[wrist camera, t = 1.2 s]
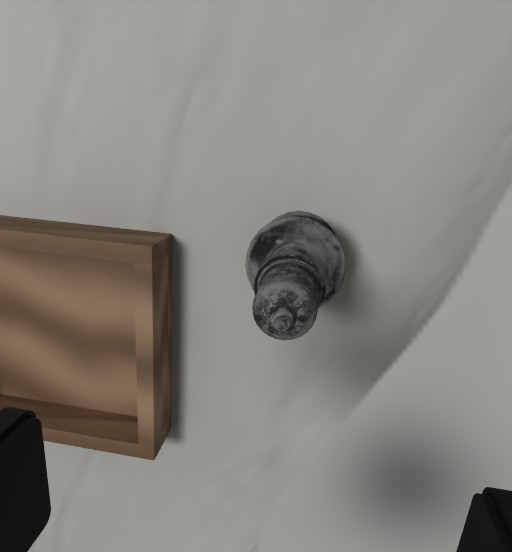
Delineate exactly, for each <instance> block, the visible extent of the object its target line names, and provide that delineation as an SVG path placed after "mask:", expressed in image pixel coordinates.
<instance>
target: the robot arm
mask: <svg viewBox="0 0 512 552" xmlns="http://www.w3.org/2000/svg"><path fill="white" fill-rule="evenodd" d="M50 512H51V505H50V496H49V487H48V478H47V469H46V460H45V452H44V443H43V434H42V425H41V421H40V420H39V419H37V418H36V414H35V413H34V412H33V411H31V410H25V409H19V408H13V407H5V408H3V409H2V410H0V552H27V551H28V550H29V549H30V547H31V546H32V544H33V543H34V542H35V540H36V539H37V537H38V536H39V535H40V533H41V532H42V530H43V529H44V528H45V526H46V524H47V522H48V520H49V517H50ZM457 552H512V491H508V490H502V489H496V488H490V487H486V488H485V489H484V490H483V492H482V494H478V493H476V494H475V495H474V496H473V499H472V502H471V506H470V509H469V512H468V515H467V519H466V522H465V525H464V529H463V532H462V535H461V539H460V542H459V545H458V549H457Z"/></svg>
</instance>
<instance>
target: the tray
mask: <svg viewBox="0 0 512 552" xmlns="http://www.w3.org/2000/svg"><path fill="white" fill-rule="evenodd" d="M5 407H13V408H19V409H25V410H31V411H33V412H34V413H35V414H36V418H37V419H39V420H40V421H41V425H42V434H43V440H44V441H49V442H55V443H60V444H66V445H71V446H77V447H83V448H88V449H94V450H99V451H105V452H110V453H116V454H122V455H127V456H133V457H138V458H144V459H149V460H155V458H156V456H157V454H158V452H159V450H160V448H161V446H162V445H163V443H164V441H165V439H166V437H167V435H168V433H169V431H170V428H171V234H166V233H157V232H148V231H139V230H130V229H120V228H111V227H102V226H93V225H84V224H75V223H65V222H56V221H47V220H38V219H29V218H20V217H10V216H1V215H0V410H2V409H3V408H5Z"/></svg>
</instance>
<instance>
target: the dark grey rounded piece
mask: <svg viewBox="0 0 512 552" xmlns="http://www.w3.org/2000/svg"><path fill="white" fill-rule="evenodd" d="M345 269H346V265H345V255H344V252H343V249H342V247H341V244H340V242H339V240H338V239H337V238H336V236H335V233H334V231H333V230H332V228H331V227H330V226H329V224H328V223H327V222H325V221H324V220H323V219H321V218H320V217H319V216H316V215H314V214H311V213H309V212H301V211H296V212H288V213H286V214H283V215H281V216H278V217H277V218H276V219H274V220H273V221H272V222H270V223H269V224H267V225H266V226H265V227H263V228H262V229H261V230H260V231H259V232H258V233H257V234H256V236H255V237H254V238H253V240H252V241H251V243H250V246H249V248H248V251H247V255H246V271H247V277H248V279H249V282H250V284H251V286H252V288H253V290H254V292H255V298H254V301H253V308H252V309H253V315H254V319H255V322H256V324H257V325H258V327H259V328H260V329H261V330H262V331H263V332H264V333H266V334H267V335H268V336H271V337H273V338H275V339H281V340H292V339H295V338H298V337H301V336H302V335H304V334H305V333H307V332H308V330H309V329H310V328H311V327H312V326H313V324H314V322H315V320H316V316H317V310H318V309H319V308H320V306H322V305H323V304H325V303H326V302H328V301H329V300H330V299H331V298H332V297H333V296H334V295H335V294H336V293H337V291H338V290H339V288H340V286H341V284H342V282H343V279H344V274H345Z"/></svg>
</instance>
